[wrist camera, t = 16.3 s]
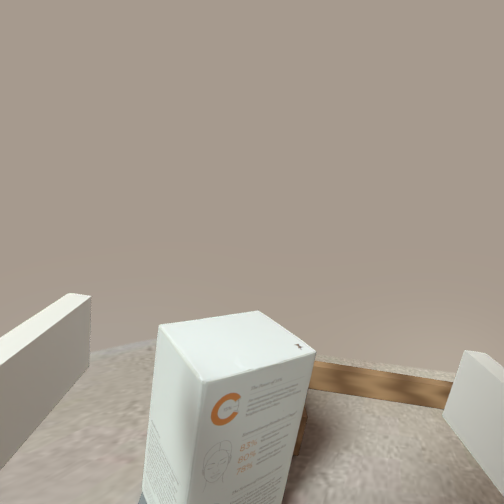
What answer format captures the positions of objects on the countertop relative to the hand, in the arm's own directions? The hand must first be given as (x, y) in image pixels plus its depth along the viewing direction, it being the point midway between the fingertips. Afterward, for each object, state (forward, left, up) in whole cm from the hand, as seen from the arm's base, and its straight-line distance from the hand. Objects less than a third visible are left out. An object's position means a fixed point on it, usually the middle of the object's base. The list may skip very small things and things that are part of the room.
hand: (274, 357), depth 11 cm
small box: (+1, -8, -17) cm, 19 cm away
